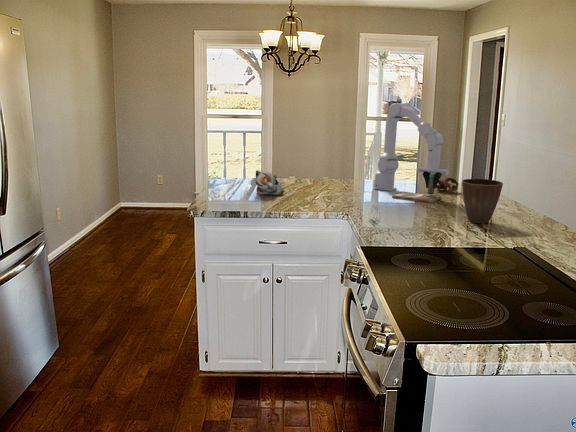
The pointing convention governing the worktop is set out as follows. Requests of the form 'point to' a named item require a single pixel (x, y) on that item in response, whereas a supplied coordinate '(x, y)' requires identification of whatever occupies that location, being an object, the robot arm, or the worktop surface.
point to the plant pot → (480, 198)
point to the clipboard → (417, 197)
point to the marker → (431, 184)
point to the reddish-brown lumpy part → (447, 185)
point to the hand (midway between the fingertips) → (431, 188)
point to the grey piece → (268, 184)
